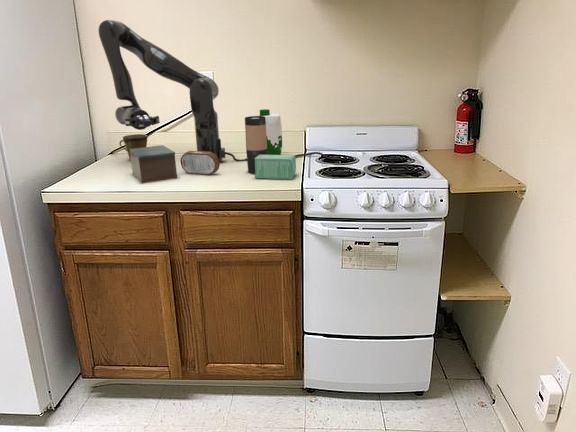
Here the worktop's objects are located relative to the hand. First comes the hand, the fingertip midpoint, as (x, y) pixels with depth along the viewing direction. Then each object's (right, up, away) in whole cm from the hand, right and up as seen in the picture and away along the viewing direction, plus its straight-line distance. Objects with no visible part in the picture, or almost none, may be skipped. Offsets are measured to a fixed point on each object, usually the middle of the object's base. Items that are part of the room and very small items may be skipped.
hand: (148, 123), depth 174 cm
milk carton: (+42, -9, +32) cm, 54 cm away
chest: (0, -18, +8) cm, 20 cm away
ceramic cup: (-16, -9, +37) cm, 41 cm away
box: (+45, -19, +2) cm, 49 cm away
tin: (+17, -17, +10) cm, 26 cm away
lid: (0, -10, +5) cm, 11 cm away
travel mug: (+38, -16, +11) cm, 43 cm away
